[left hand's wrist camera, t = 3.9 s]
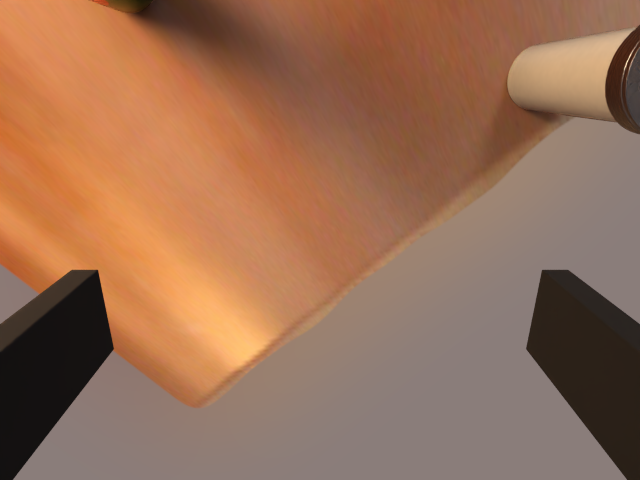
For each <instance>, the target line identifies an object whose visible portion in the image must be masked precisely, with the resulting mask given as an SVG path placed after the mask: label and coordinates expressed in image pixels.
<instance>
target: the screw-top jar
mask: <svg viewBox="0 0 640 480" xmlns="http://www.w3.org/2000/svg"><path fill="white" fill-rule="evenodd" d="M637 27H638V26H636V27H630V28H625V29H619V30H613V31H608V32H602V33H596V34H591V35H585V36H579V37H574V38H568V39H562V40H556V41H551V42H545V43H539V44H536V45H533V46H531V47H529V48H527V49H526V50H524V51H523V52H522V53H521V54H520V55H519V56H518V57H517V58H516V59H515V61H514V62H513V64H512V66H511V68H510V71H509V74H508V79H507V86H508V92H509V94H510V97H511V99H512V100H513V101H514V103H515V104H516V105H518V106H519V107H521V108H523V109H525V110H530V111H537V112H544V113H552V114H559V115H566V116H574V117H581V118H589V119H596V120H604V121H611V122H617V121H616V120H615V119H614V118H613V116H612V115H611V113H610V111H609V109H608V106H607V103H606V97H605V81H606V76H607V71H608V68H609V65H610V63H611V60H612V58H613V56H614V54H615V53H616V51H617V49H618V48H619V46H620V45H621V44H622V42H623V41H624V40H625V39H626V37H627V36H628V35H629V34H630V33H631V32H632V31H633V30H635V29H636V28H637Z"/></svg>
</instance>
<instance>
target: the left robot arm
mask: <svg viewBox="0 0 640 480" xmlns="http://www.w3.org/2000/svg"><path fill="white" fill-rule="evenodd" d="M113 349H114V347H113V342H112V338H111V333H110V328H109V323H108V318H107V313H106V308H105V303H104V298H103V293H102V288H101V283H100V278H99V273H98V270H71V271H70V272H69V273H67V274H66V275H65V276H63V277H62V278H61V279H59V280H58V281H57V282H55V283H54V284H53V285H51V286H50V287H49V288H47V289H46V290H45V291H43V292H42V293H41V294H40V295H38V296H37V297H36V298H34V299H33V300H32V301H30V302H29V303H28V304H26V305H25V306H24V307H22V308H21V309H20V310H18V311H17V312H16V313H14V314H13V315H12V316H10V317H9V318H8V319H7V320H5V321H4V322H3V323H1V324H0V480H13V479H14V477H15V476H16V475H17V473H18V472H19V471H20V470H21V468H22V467H23V466H24V465H25V463H26V462H27V461H28V459H29V458H30V457H31V455H32V454H33V453H34V452H35V450H36V449H37V448H38V446H39V445H40V444H41V443H42V441H43V440H44V439H45V437H46V436H47V435H48V433H49V432H50V431H51V430H52V428H53V427H54V426H55V424H56V423H57V422H58V421H59V419H60V418H61V417H62V415H63V414H64V413H65V411H66V410H67V409H68V407H69V406H70V405H71V404H72V402H73V401H74V400H75V398H76V397H77V396H78V395H79V393H80V392H81V391H82V389H83V388H84V387H85V386H86V384H87V383H88V382H89V380H90V379H91V378H92V377H93V375H94V374H95V373H96V371H97V370H98V369H99V367H100V366H101V365H102V363H103V362H104V361H105V360H106V358H107V357H108V356H109V354H110V353H111V352H112V351H113ZM526 349H527V351H528V352H529V353H530V355H531V356H532V357H533V358H534V360H535V361H536V362H537V364H538V365H539V366H540V367H541V369H542V370H543V371H544V373H545V374H546V375H547V377H548V378H549V379H550V380H551V382H552V383H553V384H554V386H555V387H556V388H557V389H558V391H559V392H560V393H561V395H562V396H563V397H564V399H565V400H566V401H567V402H568V404H569V405H570V406H571V408H572V409H573V410H574V411H575V413H576V414H577V415H578V417H579V418H580V419H581V420H582V422H583V423H584V424H585V426H586V427H587V428H588V430H589V431H590V432H591V433H592V435H593V436H594V437H595V439H596V440H597V441H598V442H599V444H600V445H601V446H602V448H603V449H604V450H605V452H606V453H607V454H608V455H609V457H610V458H611V459H612V461H613V462H614V463H615V465H616V466H617V467H618V468H619V470H620V471H621V472H622V474H623V475H624V476H625V477H626V479H627V480H640V324H639V323H637V322H636V321H635V320H633V319H632V318H631V317H630V316H628V315H627V314H626V313H624V312H623V311H622V310H620V309H619V308H618V307H616V306H615V305H614V304H612V303H611V302H610V301H608V300H607V299H606V298H604V297H603V296H602V295H600V294H599V293H598V292H596V291H595V290H594V289H593V288H591V287H590V286H589V285H587V284H586V283H585V282H583V281H582V280H581V279H579V278H578V277H577V276H575V275H574V274H573V273H571V272H570V271H569V270H542V273H541V278H540V283H539V288H538V293H537V298H536V303H535V308H534V313H533V318H532V323H531V328H530V333H529V338H528V343H527V347H526Z"/></svg>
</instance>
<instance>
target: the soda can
mask: <svg viewBox="0 0 640 480" xmlns="http://www.w3.org/2000/svg"><path fill="white" fill-rule="evenodd" d="M90 1H93V2H95V3H98V4H101V5H104V6H107V7H109V8H112V9H115V10H118V11H121V12H125V13H135V12H139V11H142V10H143V9H145V8H146V7H147V6H149V4H150V3H151V2H152V1H153V0H90Z"/></svg>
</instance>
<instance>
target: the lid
mask: <svg viewBox="0 0 640 480" xmlns="http://www.w3.org/2000/svg"><path fill="white" fill-rule="evenodd" d="M605 97H606V103H607V106H608V109H609V111H610V113H611V115H612V116H613V118H614V119H615V120H616V121H617V122H618V123H619V124H620V125H621V126H622V127H623V128H625V129H627V130H629V131H631V132H633V133H637V134H640V25H639V26H638V27H637V28H636V29H635V30H633V31H632V32H631V33H630V34H629V35H628V36H627V37H626V39H625V40H624V41H623V42H622V44H621V45H620V46H619V48H618V49H617V51H616V53H615V54H614V56H613V58H612V60H611V63H610V65H609V68H608V71H607V76H606V81H605Z"/></svg>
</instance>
